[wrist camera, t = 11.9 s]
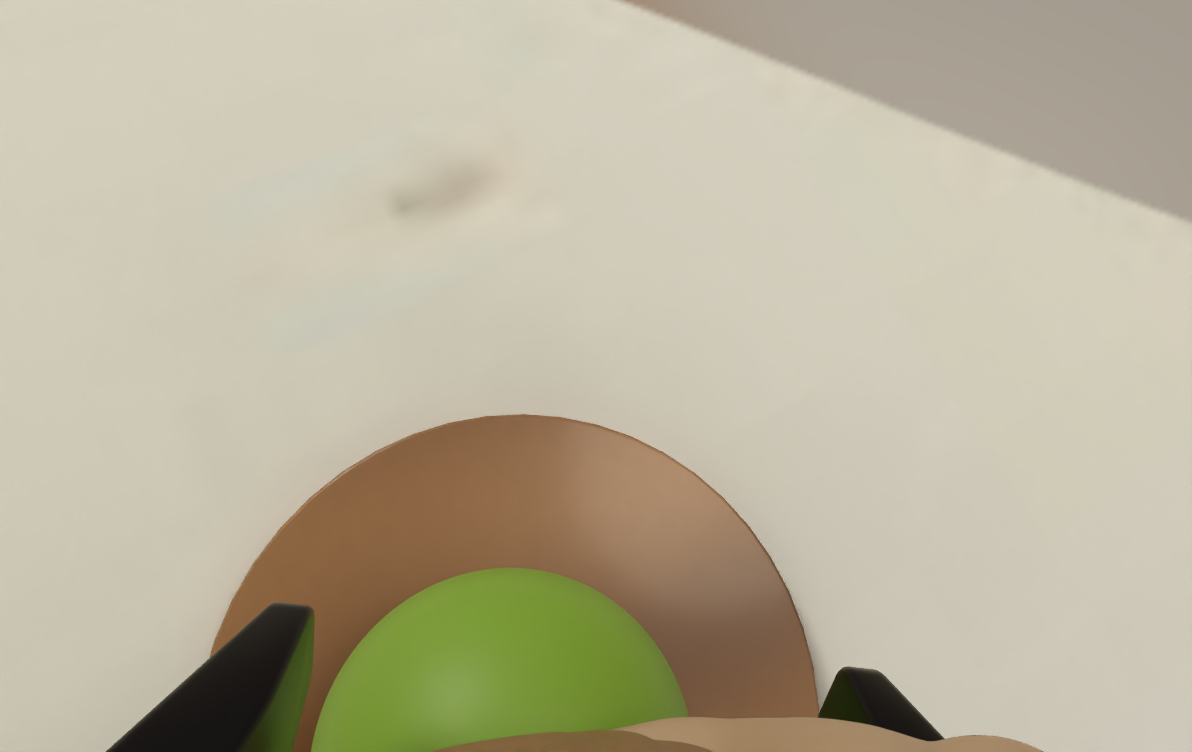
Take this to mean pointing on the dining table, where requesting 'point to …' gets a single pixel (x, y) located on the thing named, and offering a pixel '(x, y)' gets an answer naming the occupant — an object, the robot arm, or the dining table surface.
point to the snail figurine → (549, 683)
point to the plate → (541, 554)
